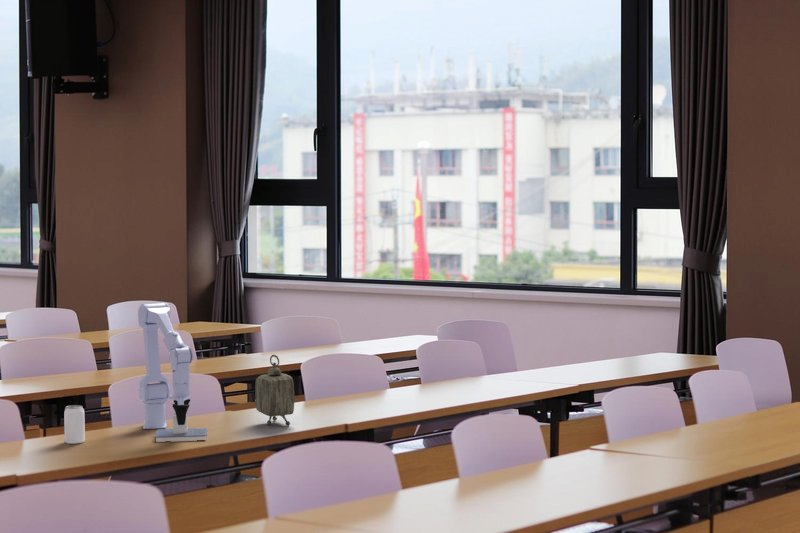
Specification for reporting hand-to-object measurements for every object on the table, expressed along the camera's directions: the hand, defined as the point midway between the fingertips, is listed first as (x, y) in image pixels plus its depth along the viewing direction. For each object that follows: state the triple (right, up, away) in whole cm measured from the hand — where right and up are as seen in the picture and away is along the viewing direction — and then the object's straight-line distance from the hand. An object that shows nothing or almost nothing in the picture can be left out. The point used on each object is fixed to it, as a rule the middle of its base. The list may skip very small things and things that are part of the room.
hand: (181, 422), depth 398 cm
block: (-1, -3, 0) cm, 3 cm away
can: (-34, -6, -7) cm, 35 cm away
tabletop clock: (+29, -4, +23) cm, 37 cm away
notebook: (0, -6, 0) cm, 6 cm away
